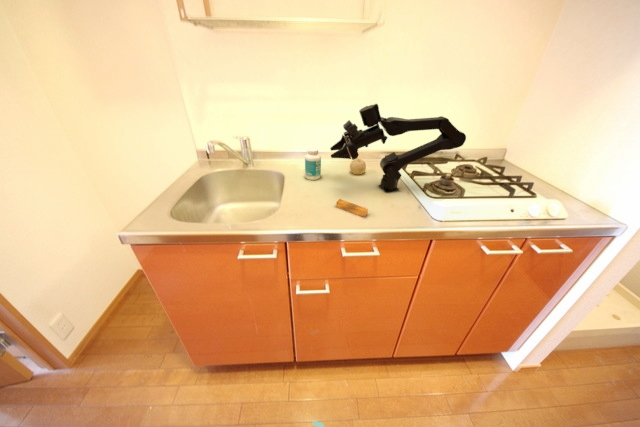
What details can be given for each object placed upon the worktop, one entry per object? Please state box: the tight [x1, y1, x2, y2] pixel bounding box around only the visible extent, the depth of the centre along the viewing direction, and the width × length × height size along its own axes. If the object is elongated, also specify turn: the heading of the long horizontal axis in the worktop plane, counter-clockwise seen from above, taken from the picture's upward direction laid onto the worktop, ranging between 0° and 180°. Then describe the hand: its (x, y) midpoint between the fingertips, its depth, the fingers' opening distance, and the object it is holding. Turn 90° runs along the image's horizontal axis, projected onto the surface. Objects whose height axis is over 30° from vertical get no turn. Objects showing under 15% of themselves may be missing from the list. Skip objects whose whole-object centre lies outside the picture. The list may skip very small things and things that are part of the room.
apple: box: [349, 157, 367, 175], centre depth 113 cm, size 8×8×8 cm
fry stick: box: [335, 198, 369, 218], centre depth 84 cm, size 12×2×2 cm, turn 54°
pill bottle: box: [304, 147, 322, 181], centre depth 106 cm, size 8×7×14 cm
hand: (330, 152), depth 92 cm, fingers open, 9 cm apart
